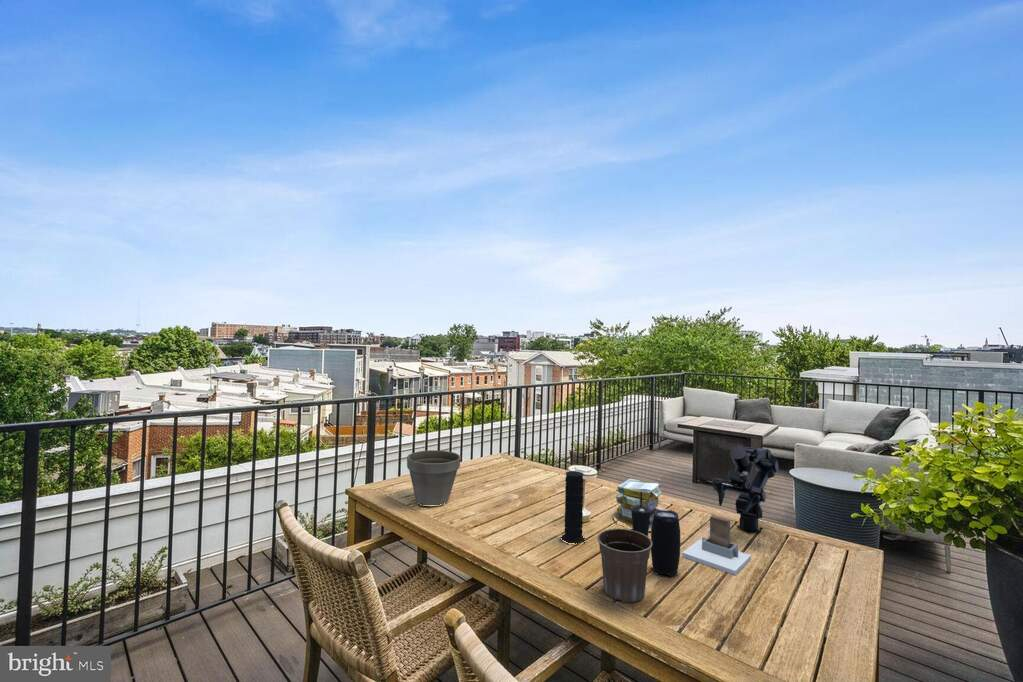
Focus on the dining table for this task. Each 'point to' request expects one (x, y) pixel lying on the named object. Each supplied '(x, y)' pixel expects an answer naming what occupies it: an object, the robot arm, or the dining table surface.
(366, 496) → the dining table surface
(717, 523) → the wooden rectangular pillar
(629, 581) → the plant pot
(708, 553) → the white base with frame
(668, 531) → the portable speaker
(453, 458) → the plant pot
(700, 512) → the dining table surface
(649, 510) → the drinking cup
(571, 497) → the handle grip
